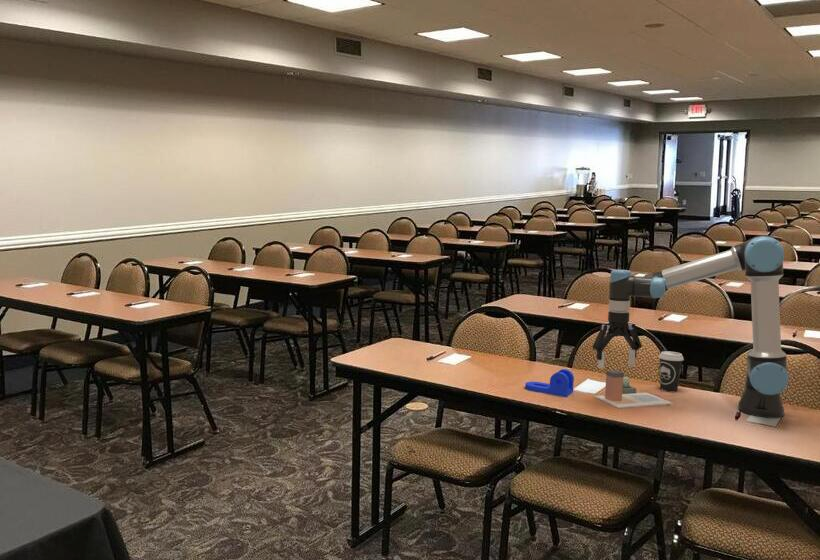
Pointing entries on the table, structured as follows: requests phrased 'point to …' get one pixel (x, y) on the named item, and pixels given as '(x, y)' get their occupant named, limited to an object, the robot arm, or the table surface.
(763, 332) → the robot arm
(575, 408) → the table surface
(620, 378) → the lidded container
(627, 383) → the button
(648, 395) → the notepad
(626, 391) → the button housing
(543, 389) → the bracket
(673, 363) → the coffee cup
